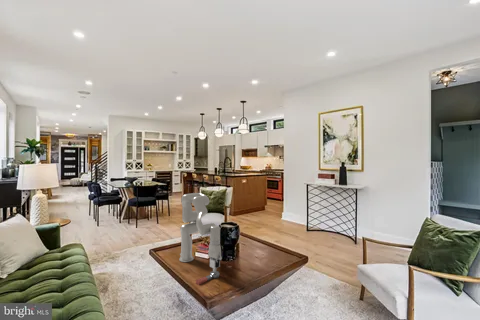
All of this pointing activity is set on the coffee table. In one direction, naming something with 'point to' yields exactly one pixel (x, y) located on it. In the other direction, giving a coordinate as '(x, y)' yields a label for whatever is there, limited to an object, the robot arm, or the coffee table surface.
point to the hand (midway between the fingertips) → (214, 265)
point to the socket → (213, 263)
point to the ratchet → (208, 277)
